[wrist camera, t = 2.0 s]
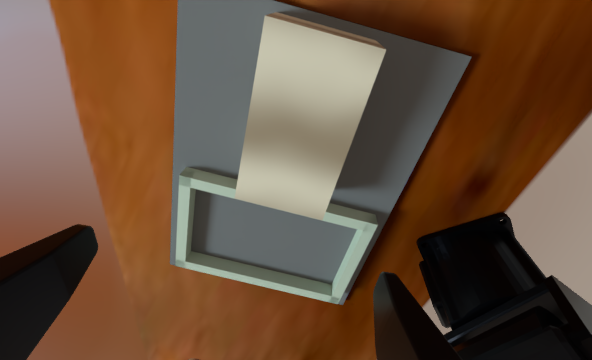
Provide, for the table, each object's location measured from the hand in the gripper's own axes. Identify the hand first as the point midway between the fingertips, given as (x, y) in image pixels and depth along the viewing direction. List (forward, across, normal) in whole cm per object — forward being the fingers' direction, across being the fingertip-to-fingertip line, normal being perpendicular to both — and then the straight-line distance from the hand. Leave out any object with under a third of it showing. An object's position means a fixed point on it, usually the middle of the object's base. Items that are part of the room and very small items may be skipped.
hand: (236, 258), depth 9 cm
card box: (+12, -1, -1) cm, 12 cm away
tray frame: (+12, 0, +10) cm, 15 cm away
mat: (+12, -1, +5) cm, 13 cm away
